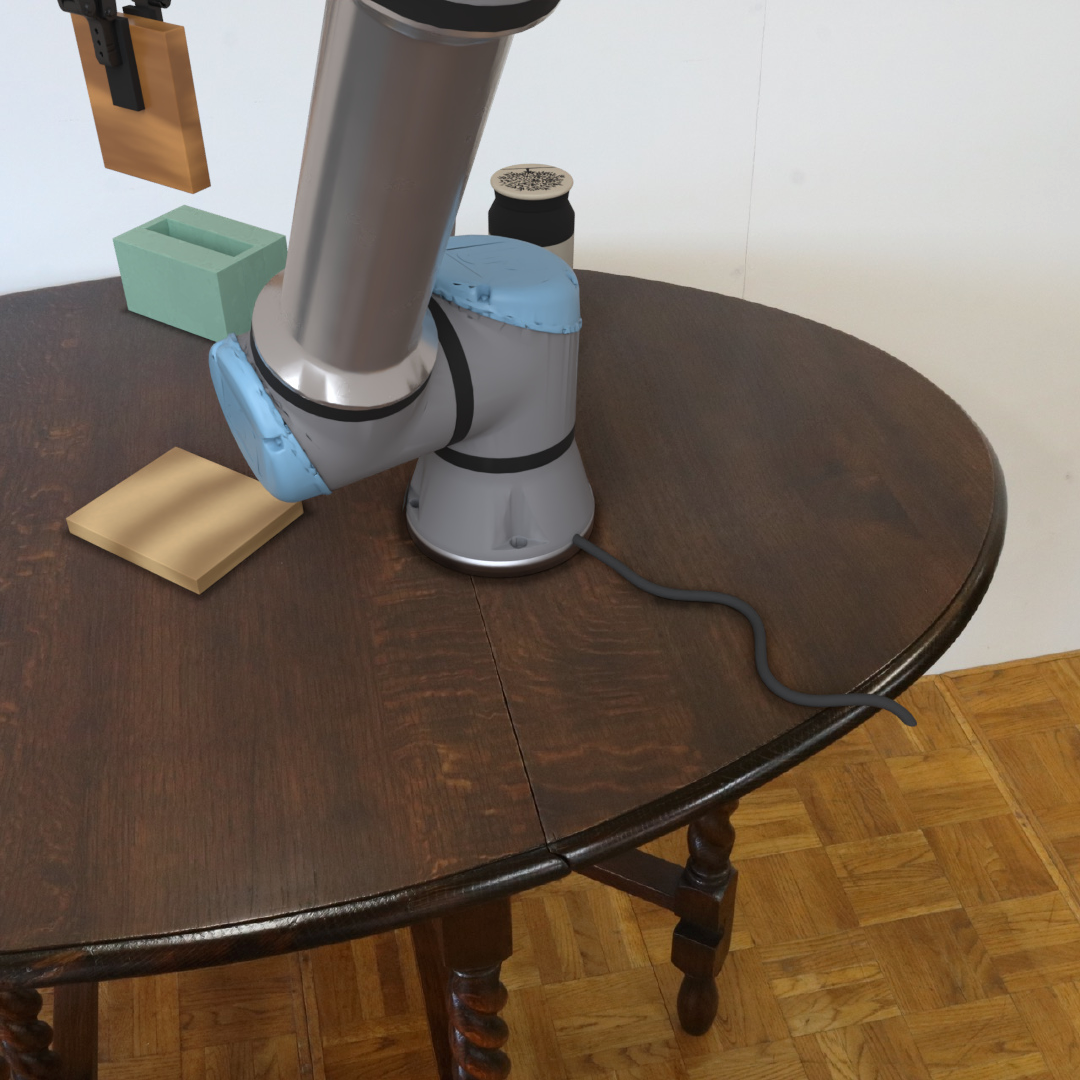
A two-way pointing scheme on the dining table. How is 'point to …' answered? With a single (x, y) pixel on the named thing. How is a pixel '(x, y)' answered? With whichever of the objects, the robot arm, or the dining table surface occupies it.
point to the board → (184, 519)
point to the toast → (149, 108)
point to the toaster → (198, 270)
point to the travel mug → (534, 207)
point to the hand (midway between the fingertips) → (142, 101)
